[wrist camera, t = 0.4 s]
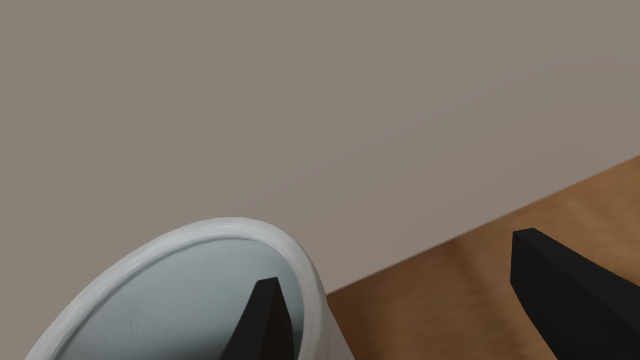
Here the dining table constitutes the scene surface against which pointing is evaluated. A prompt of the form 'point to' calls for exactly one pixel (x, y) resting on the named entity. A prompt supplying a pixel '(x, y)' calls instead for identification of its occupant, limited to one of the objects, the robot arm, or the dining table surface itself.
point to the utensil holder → (193, 298)
